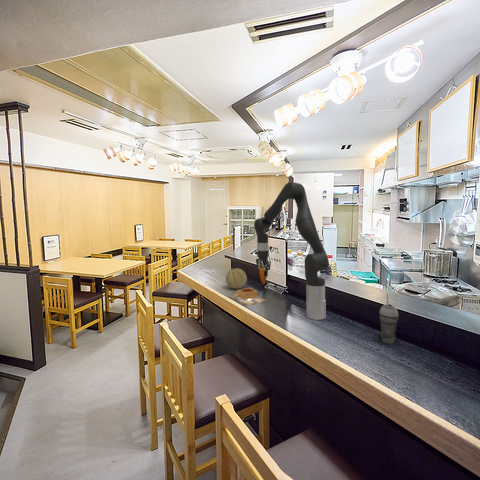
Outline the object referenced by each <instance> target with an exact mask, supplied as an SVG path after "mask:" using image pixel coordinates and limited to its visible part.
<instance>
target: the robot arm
mask: <svg viewBox="0 0 480 480" xmlns="http://www.w3.org/2000/svg"><path fill="white" fill-rule="evenodd" d="M307 198H308V197H307V193H306V190H305V187H304V185H303V184H301V183H299V182H293V181H289V182H287V183H286V184H285V185H283V187H282V189H281V191H280V192H279V194H278V195H277V197H276V199H275V200H274V202H273V203H272V205H271V206H269V208H268V209H267V210H266V211H265V212H264V214H263V218H257V219H255V221H254V224H253V225H254V226H253V227H254V230H255V234H256V239H257V240H256V256H257V257H258V258H257V257H256V259H255V263H256V268H257V269H258V272H259V276H260V268H261V267H262V266H263V268H264V276H265V277H267V278H268V276H269V271H270V270H271V264H272V261H270V260H269V259H268V258H269V257H270V248H269V247H270V246H269V235H268V233H267V232H266V233H265V232H264V230H269V228H271V226H272V224H273V222H274V221H275V220H276V219H277V217H279V215H280V214H281V212H282V209H283V206H284V203H285V202H287V201H288V200H294V202H295V204H296V209H297V212H296V216H295V225H296V228H297V230H298V234H299V235H300V236H301V238H303V240H304V241H306V242H307V243H308V244H309V245H310V247H311V249H312V252H313V253H308V254H307V255H306V256H305V257H304V276H305V281H306V285H305V286H306V289H305V291H306V294H305V295H306V297H305V298H306V300H305V301H306V304H305V305H306V306H305V308H306V311H305V312H306V313H305V314H306V318H308V319H309V320H315V321H317V320H318V321H320V320H324V319H327V317H326V315H327V314H326V312H327V311H326V310H327V306H326V305H327V303H326V302H327V300H326V280H325V278H323V277H321V276H319V275H318V272H322V271H326V270H328V269H329V265H330V261H329V257H328V254H327V252H326V250H325V248H324V246H323V243H322V241H321V239H320V235H319V233H318V230H317V227H316V226H317V225H316V223H315V220H314V218H313V215H312V212H311V209H310V206H309V202H308V199H307ZM261 263H262V266H261ZM265 267H266V269H265Z"/></svg>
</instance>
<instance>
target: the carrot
mask: <svg viewBox="0 0 480 480" xmlns="http://www.w3.org/2000/svg"><path fill="white" fill-rule="evenodd" d="M261 266H262V263H261ZM265 269H266V267H265ZM259 278H260V281H261V283H262V285H265V284H266V282H267V279H268V276H267V277H265V276H264V268H263V266H262V267H261V268H260V275H259Z"/></svg>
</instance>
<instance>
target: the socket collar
mask: <svg viewBox="0 0 480 480" xmlns="http://www.w3.org/2000/svg"><path fill="white" fill-rule="evenodd" d="M236 294H237V299H239V300H242V301H252V300H256V299H257V298H258V290H256V289H254V288H251V287H245V288H239V289H236Z"/></svg>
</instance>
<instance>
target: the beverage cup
mask: <svg viewBox="0 0 480 480" xmlns="http://www.w3.org/2000/svg"><path fill="white" fill-rule="evenodd" d="M378 314H379V321H380V335H381V336H380V337H381V341H382V342H383V343H385V344H394V343H395V339H396V331H397V325H398V324H397V323H398V321H399V311H398V309H397V308H396V306H394V305H392V304H389V293H386V304H384V305H382V306H381V307H380V309H379V312H378Z"/></svg>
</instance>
